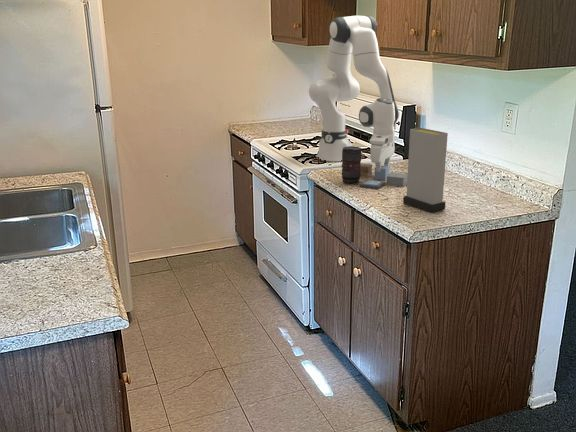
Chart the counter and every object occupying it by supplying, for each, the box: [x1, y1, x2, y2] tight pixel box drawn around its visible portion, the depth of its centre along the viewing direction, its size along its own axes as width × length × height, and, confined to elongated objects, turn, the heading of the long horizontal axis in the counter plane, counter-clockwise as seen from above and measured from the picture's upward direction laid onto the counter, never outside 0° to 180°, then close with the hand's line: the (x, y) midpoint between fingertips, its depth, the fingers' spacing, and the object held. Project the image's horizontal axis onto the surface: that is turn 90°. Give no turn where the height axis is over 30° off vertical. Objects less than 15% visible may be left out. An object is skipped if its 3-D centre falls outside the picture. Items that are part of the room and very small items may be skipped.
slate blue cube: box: [373, 164, 391, 181], centre depth 258 cm, size 5×5×5 cm
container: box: [402, 127, 449, 213], centre depth 215 cm, size 7×18×30 cm, turn 34°
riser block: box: [386, 171, 408, 187], centre depth 249 cm, size 7×7×4 cm
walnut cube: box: [360, 163, 373, 179], centre depth 262 cm, size 5×5×5 cm
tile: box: [359, 179, 386, 190], centre depth 247 cm, size 8×8×2 cm
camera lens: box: [341, 145, 363, 185], centre depth 250 cm, size 8×8×15 cm
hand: (382, 168), depth 257 cm, fingers open, 8 cm apart
